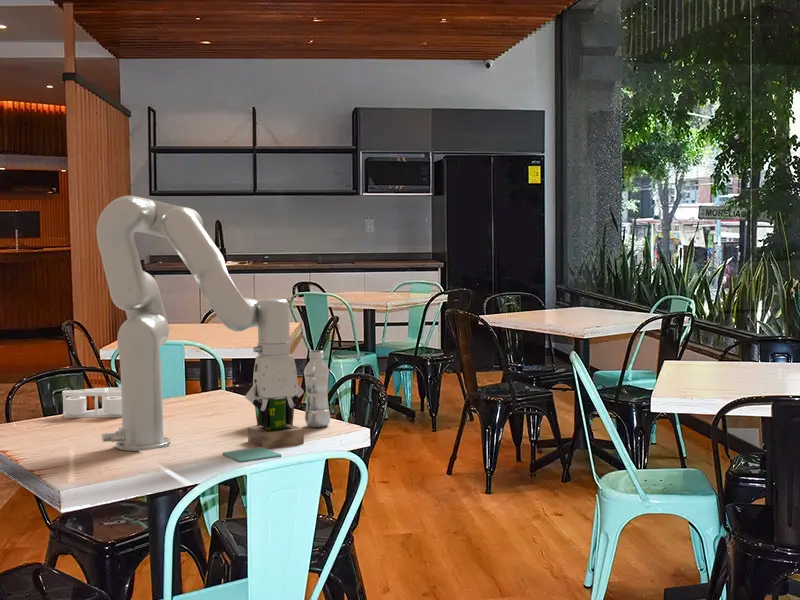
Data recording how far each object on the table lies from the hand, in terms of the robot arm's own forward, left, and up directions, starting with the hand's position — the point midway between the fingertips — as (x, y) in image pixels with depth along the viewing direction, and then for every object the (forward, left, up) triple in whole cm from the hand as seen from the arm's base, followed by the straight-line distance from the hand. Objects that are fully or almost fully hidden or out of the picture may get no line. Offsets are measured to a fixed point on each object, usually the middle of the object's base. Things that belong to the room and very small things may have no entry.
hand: (275, 424), depth 232 cm
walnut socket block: (0, 0, -4) cm, 4 cm away
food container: (+7, +17, -5) cm, 19 cm away
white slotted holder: (-25, +62, -5) cm, 67 cm away
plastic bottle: (+17, +11, -5) cm, 21 cm away
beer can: (0, 0, -5) cm, 5 cm away
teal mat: (-10, -10, -4) cm, 15 cm away
